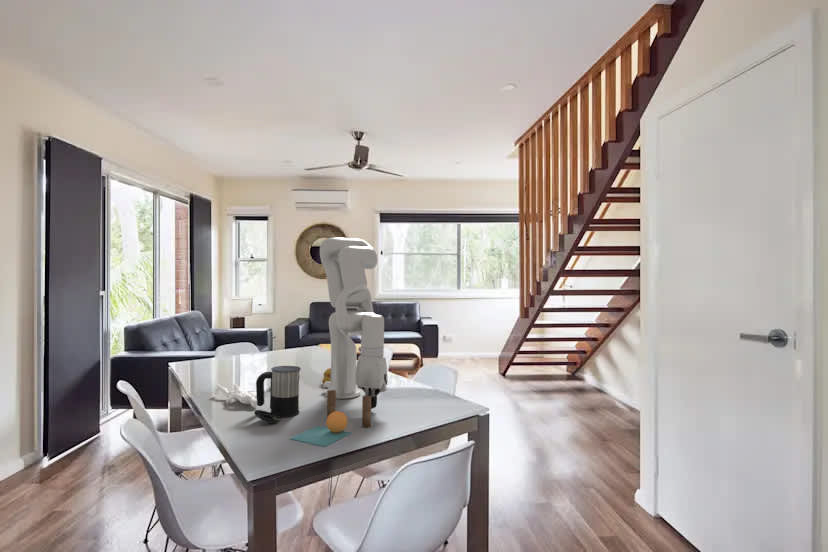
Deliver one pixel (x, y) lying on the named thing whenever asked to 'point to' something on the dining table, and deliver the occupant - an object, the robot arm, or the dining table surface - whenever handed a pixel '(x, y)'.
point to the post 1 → (331, 401)
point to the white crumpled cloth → (238, 395)
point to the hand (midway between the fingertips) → (371, 407)
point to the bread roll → (327, 375)
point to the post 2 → (366, 411)
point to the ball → (336, 422)
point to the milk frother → (279, 393)
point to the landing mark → (320, 436)
